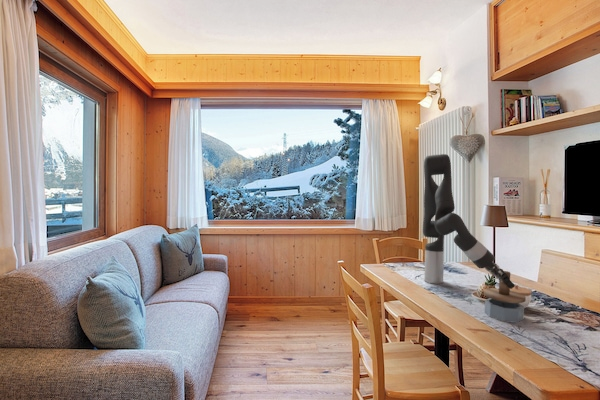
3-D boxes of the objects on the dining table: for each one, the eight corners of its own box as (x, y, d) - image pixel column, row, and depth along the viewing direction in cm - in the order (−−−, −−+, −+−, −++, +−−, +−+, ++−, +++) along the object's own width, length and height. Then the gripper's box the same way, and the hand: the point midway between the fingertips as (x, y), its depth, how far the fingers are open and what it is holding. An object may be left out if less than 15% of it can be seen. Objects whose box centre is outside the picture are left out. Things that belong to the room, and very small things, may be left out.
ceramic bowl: (493, 307, 133) (494, 296, 133) (526, 317, 124) (527, 304, 124) (480, 313, 126) (481, 301, 126) (514, 324, 117) (515, 311, 117)
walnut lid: (492, 289, 135) (493, 266, 134) (531, 298, 123) (532, 273, 123) (477, 295, 126) (478, 270, 126) (517, 305, 115) (518, 278, 115)
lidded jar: (526, 304, 138) (526, 283, 138) (535, 313, 128) (536, 290, 128) (498, 301, 142) (498, 280, 141) (505, 309, 131) (505, 287, 131)
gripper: (493, 250, 118) (527, 284, 117) (478, 244, 132) (508, 274, 131) (478, 264, 119) (511, 297, 118) (464, 256, 133) (494, 286, 132)
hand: (509, 285), depth 124 cm, fingers closed on walnut lid, 3 cm apart
